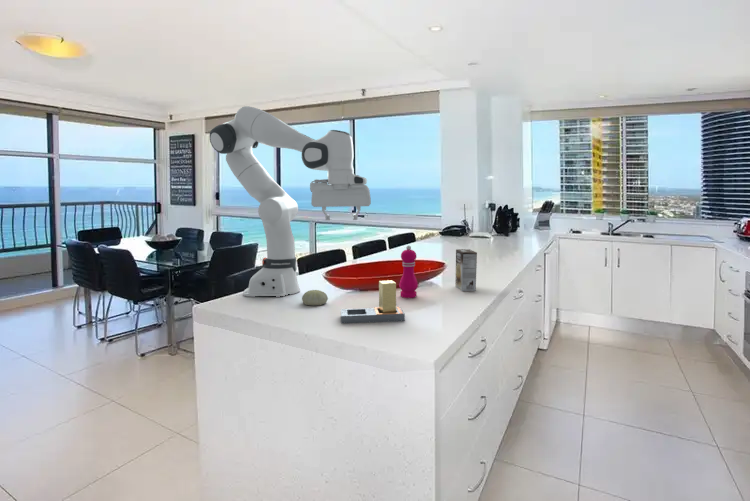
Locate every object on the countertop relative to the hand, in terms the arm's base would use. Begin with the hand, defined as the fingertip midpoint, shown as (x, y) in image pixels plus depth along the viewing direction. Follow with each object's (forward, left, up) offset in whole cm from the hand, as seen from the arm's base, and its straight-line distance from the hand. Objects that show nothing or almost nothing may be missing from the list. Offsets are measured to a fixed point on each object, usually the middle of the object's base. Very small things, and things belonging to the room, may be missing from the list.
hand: (341, 220), depth 149 cm
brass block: (+14, -14, -31) cm, 37 cm away
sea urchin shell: (-10, +8, -32) cm, 34 cm away
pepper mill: (+26, +14, -31) cm, 43 cm away
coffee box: (+52, +24, -31) cm, 65 cm away
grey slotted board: (+9, -14, -31) cm, 35 cm away
